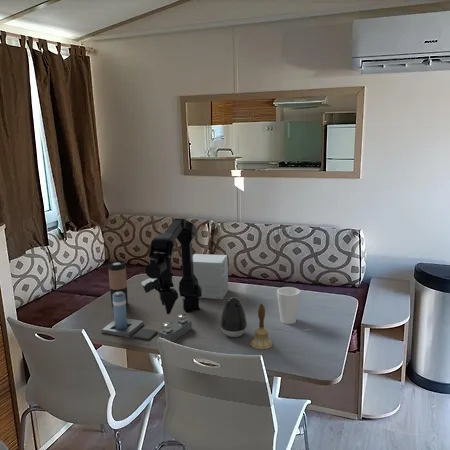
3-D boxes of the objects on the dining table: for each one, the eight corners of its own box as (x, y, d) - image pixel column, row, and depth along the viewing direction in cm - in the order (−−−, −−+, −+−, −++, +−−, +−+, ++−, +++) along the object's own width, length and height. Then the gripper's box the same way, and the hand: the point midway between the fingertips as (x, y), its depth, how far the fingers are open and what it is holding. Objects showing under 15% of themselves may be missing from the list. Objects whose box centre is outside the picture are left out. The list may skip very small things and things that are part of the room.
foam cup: (286, 314, 194) (286, 285, 191) (304, 320, 187) (304, 290, 184) (272, 321, 187) (272, 291, 184) (290, 327, 181) (290, 297, 178)
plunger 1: (171, 332, 176) (171, 321, 175) (173, 336, 172) (173, 325, 171) (162, 333, 175) (162, 323, 174) (164, 337, 171) (163, 327, 170)
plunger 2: (186, 323, 183) (185, 313, 182) (188, 326, 180) (187, 316, 179) (177, 324, 182) (176, 314, 181) (179, 328, 179) (178, 318, 178)
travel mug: (124, 308, 203) (120, 265, 199) (108, 307, 205) (104, 265, 200) (130, 301, 211) (127, 260, 206) (115, 300, 212) (112, 260, 208)
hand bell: (277, 345, 167) (277, 304, 164) (259, 352, 162) (259, 310, 159) (262, 336, 174) (262, 297, 170) (245, 343, 169) (245, 303, 165)
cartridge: (127, 326, 185) (124, 290, 182) (128, 331, 180) (125, 294, 177) (114, 328, 184) (111, 292, 180) (115, 333, 179) (112, 296, 176)
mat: (157, 332, 179) (157, 330, 179) (148, 340, 173) (148, 338, 172) (142, 330, 181) (142, 328, 181) (132, 337, 175) (132, 335, 175)
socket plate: (143, 324, 187) (143, 320, 186) (127, 337, 176) (127, 333, 175) (119, 320, 191) (118, 317, 190) (101, 332, 180) (101, 329, 180)
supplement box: (229, 289, 223) (228, 254, 219) (222, 300, 211) (221, 262, 206) (195, 287, 227) (194, 253, 223) (187, 297, 214) (185, 261, 210)
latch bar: (181, 325, 185) (180, 318, 184) (191, 328, 182) (191, 321, 181) (158, 339, 173) (158, 331, 172) (169, 342, 170) (169, 335, 170)
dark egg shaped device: (228, 342, 170) (228, 304, 166) (216, 332, 179) (215, 295, 175) (252, 336, 174) (251, 299, 171) (239, 326, 183) (238, 290, 180)
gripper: (138, 265, 174) (141, 303, 178) (146, 280, 157) (148, 322, 160) (167, 262, 178) (169, 299, 181) (177, 276, 160) (179, 317, 164)
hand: (166, 309), depth 171 cm, fingers open, 9 cm apart
